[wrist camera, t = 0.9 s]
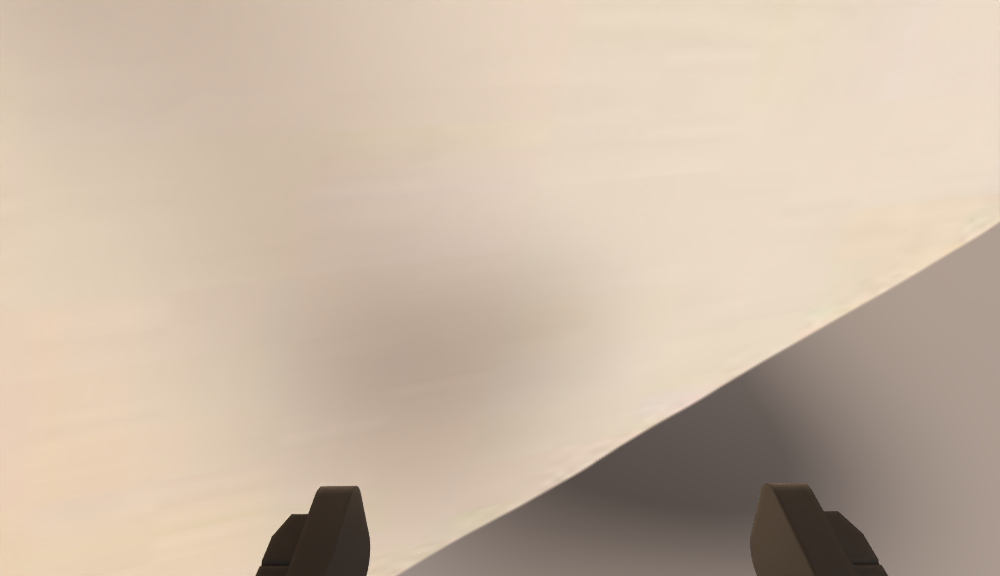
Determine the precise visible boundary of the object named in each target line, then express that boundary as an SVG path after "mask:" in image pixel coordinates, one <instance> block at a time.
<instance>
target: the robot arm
mask: <svg viewBox="0 0 1000 576" xmlns="http://www.w3.org/2000/svg"><path fill="white" fill-rule="evenodd" d="M750 548H751V556H752V561H753V565H754V568H755V571H756V574H757V576H888V575H887V573H886V572H885V570H884V568H883V567H882V565H879V563H878V558H877V557H876V555H875V554H874V552H873V550H872V548H871V547H870V545H869V543H868V542H867V540H866V538H865V537H864V535H863V534H862V533H861V532H860V531H859V530H858V529H857V528H856V527H855V526H854V525H853V524H851V523H850V522H849V521H848V520H847V519H846V518H845V517H844V516H843V515H842V514H841V513H839V512H837V511H834V512H833V511H830V512H824V511H823V510H822V508H821V506H820V504H819V502H818V500H817V499H816V497H815V495H814V493H813V492H812V490H811V488H810V487H809V486H808V485H807V484H805V483H771V484H770V483H766V484H764V485H763V486H762V489H761V492H760V497H759V501H758V506H757V510H756V514H755V519H754V523H753V527H752V532H751V537H750ZM369 558H370V537H369V532H368V527H367V522H366V517H365V512H364V507H363V502H362V497H361V493H360V489H359V487H358V486H322V487H320V488H319V489H318V490H317V492H316V495H315V497H314V500H313V503H312V505H311V508H310V511H309V513H308V514H292V515H291V516H290V517H289V518H288V519H287V520H286V521H285V523H284V524H283V525H282V526H281V527H280V528H279V529H278V530H277V532H276V533H275V534H274V535H273V536H272V538H271V540H270V543H269V545H268V548H267V550H266V552H265V555H264V557H263V560H262V565H261V566H260V567H259V569H258V571H257V574H256V576H366V575H367V571H368V566H369Z"/></svg>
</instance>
